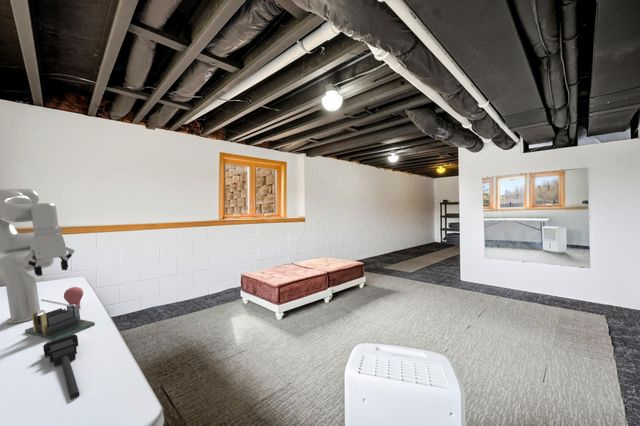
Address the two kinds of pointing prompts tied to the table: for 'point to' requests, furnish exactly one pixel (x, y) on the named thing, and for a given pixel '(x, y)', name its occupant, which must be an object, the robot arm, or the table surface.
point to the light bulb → (73, 295)
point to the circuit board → (58, 323)
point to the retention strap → (59, 303)
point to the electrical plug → (64, 359)
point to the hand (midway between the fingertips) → (52, 272)
